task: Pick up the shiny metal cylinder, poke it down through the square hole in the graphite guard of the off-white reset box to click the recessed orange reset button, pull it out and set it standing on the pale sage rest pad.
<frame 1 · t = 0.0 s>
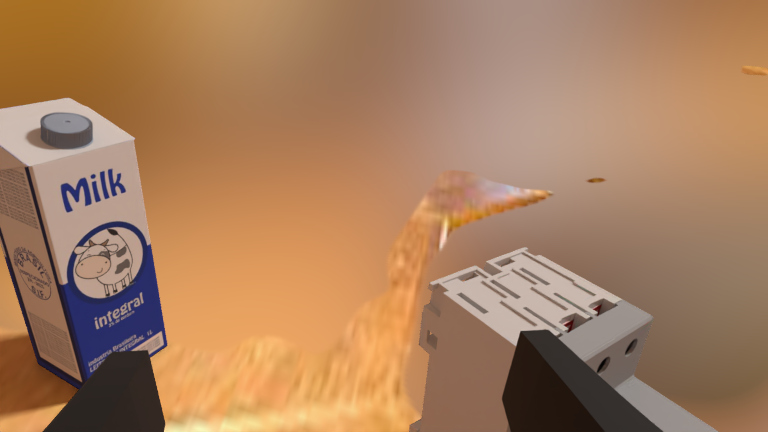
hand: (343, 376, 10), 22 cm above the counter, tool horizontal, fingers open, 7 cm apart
milk carton: (105, 356, 41), on the counter
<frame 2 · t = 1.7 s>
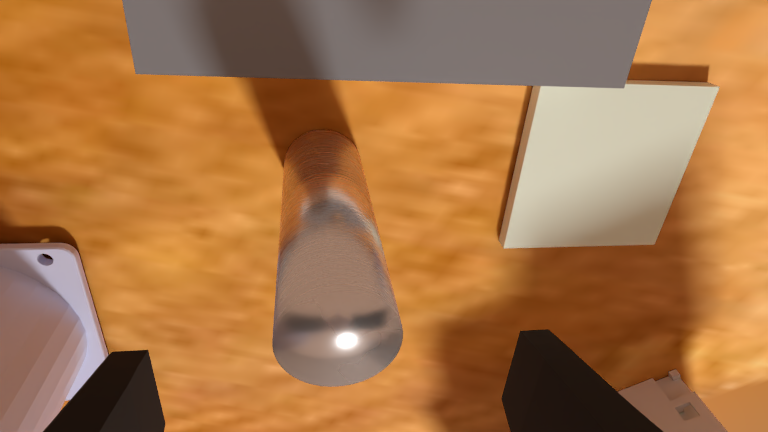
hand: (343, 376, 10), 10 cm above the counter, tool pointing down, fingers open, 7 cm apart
shiny metal cylinder: (322, 165, 18), on the counter
rest pad: (597, 166, 20), on the counter
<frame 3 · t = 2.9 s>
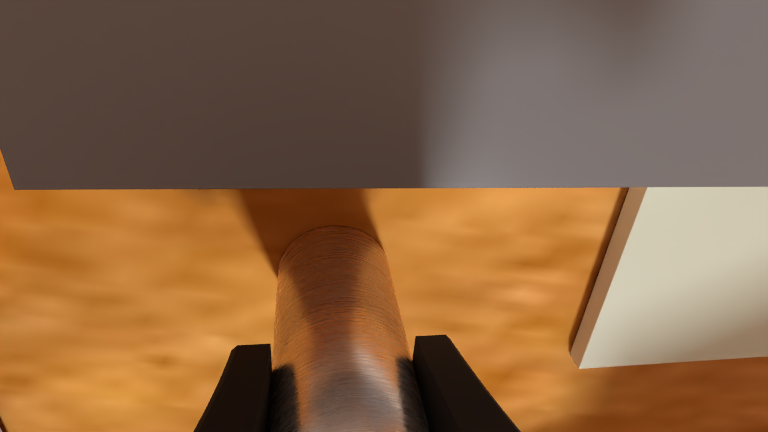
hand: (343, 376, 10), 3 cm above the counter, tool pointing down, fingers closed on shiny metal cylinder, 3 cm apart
shiny metal cylinder: (333, 272, 13), on the counter, touching gripper
rest pad: (712, 261, 15), on the counter
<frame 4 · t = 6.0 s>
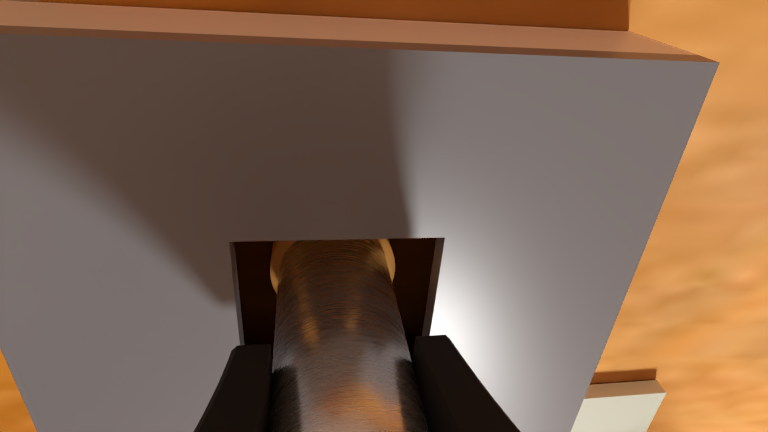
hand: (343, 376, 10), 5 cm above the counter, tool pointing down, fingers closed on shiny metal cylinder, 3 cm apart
shiny metal cylinder: (333, 273, 13), point 1 cm above the counter, touching gripper, reset plunger
reset box: (331, 246, 14), on the counter
reset plunger: (333, 263, 13), point 1 cm above the counter, slide at 1.4 cm, touching shiny metal cylinder
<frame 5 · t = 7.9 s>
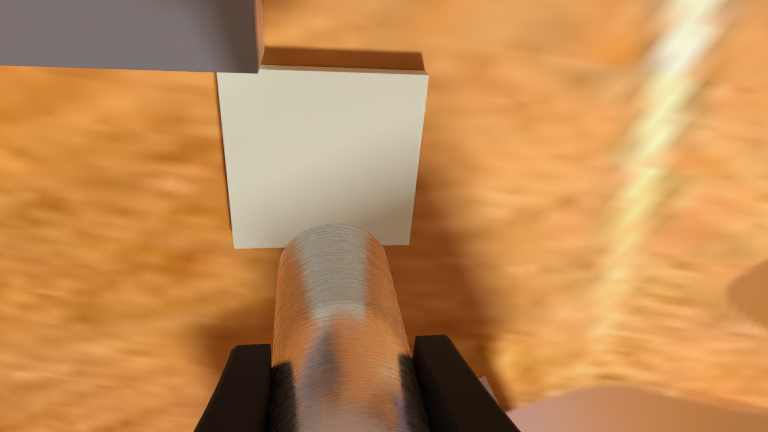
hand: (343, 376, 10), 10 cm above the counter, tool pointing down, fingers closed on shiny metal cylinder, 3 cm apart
shiny metal cylinder: (333, 269, 13), point 7 cm above the counter, touching gripper
rest pad: (324, 160, 19), on the counter
when the fingers open (5 cm above the counter, at t = 9.2 s): shiny metal cylinder stays where it is, resting on rest pad.
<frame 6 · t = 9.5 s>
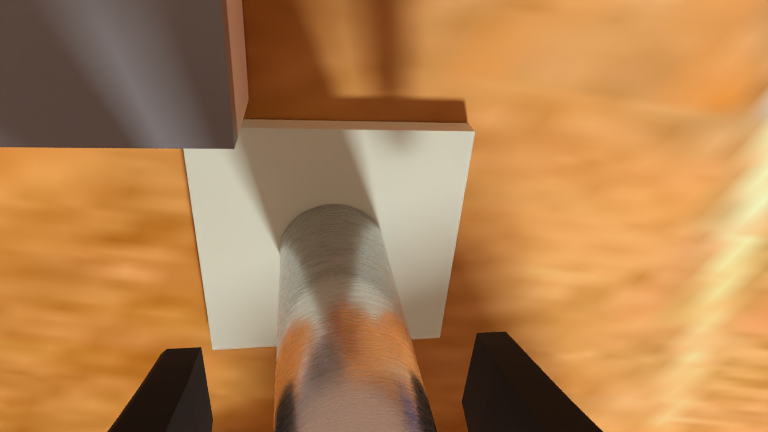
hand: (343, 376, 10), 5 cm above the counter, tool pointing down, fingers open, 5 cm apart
shiny metal cylinder: (332, 248, 14), point 1 cm above the counter, touching rest pad
rest pad: (330, 238, 14), on the counter
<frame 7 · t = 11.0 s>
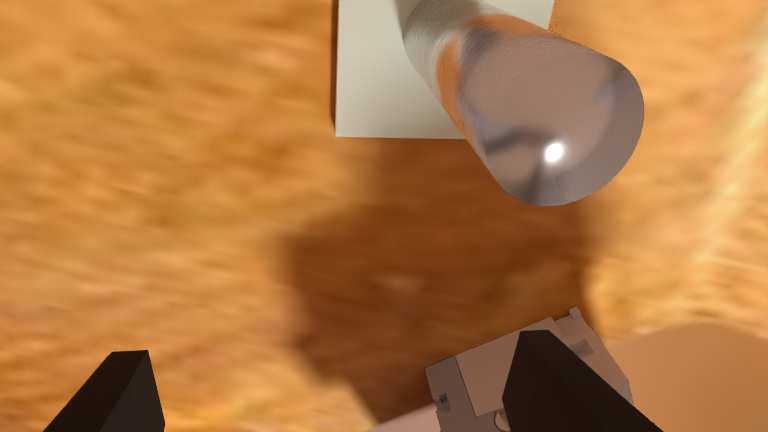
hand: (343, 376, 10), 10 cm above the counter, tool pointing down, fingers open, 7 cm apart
shiny metal cylinder: (445, 36, 16), point 1 cm above the counter, touching rest pad
circuit breaker: (464, 399, 27), on the counter
rest pad: (440, 35, 17), on the counter
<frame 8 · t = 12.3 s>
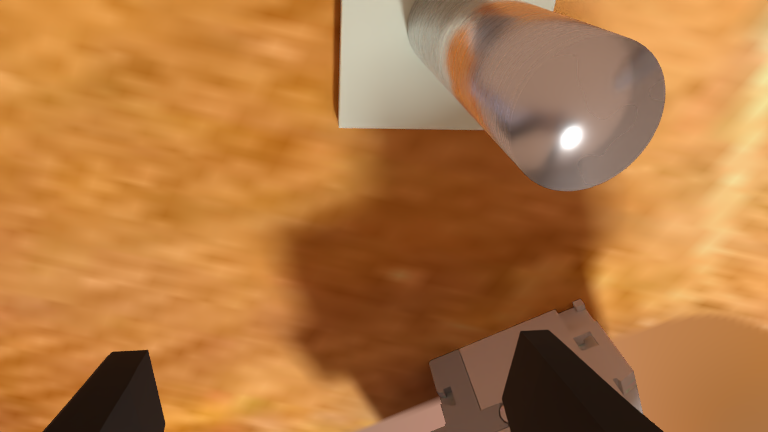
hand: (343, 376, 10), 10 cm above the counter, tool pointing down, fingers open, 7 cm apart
shiny metal cylinder: (449, 26, 16), point 1 cm above the counter, touching rest pad
circuit breaker: (468, 393, 27), on the counter
rest pad: (443, 24, 17), on the counter
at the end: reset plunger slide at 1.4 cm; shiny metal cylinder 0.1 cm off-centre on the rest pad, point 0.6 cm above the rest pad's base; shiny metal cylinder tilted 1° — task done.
